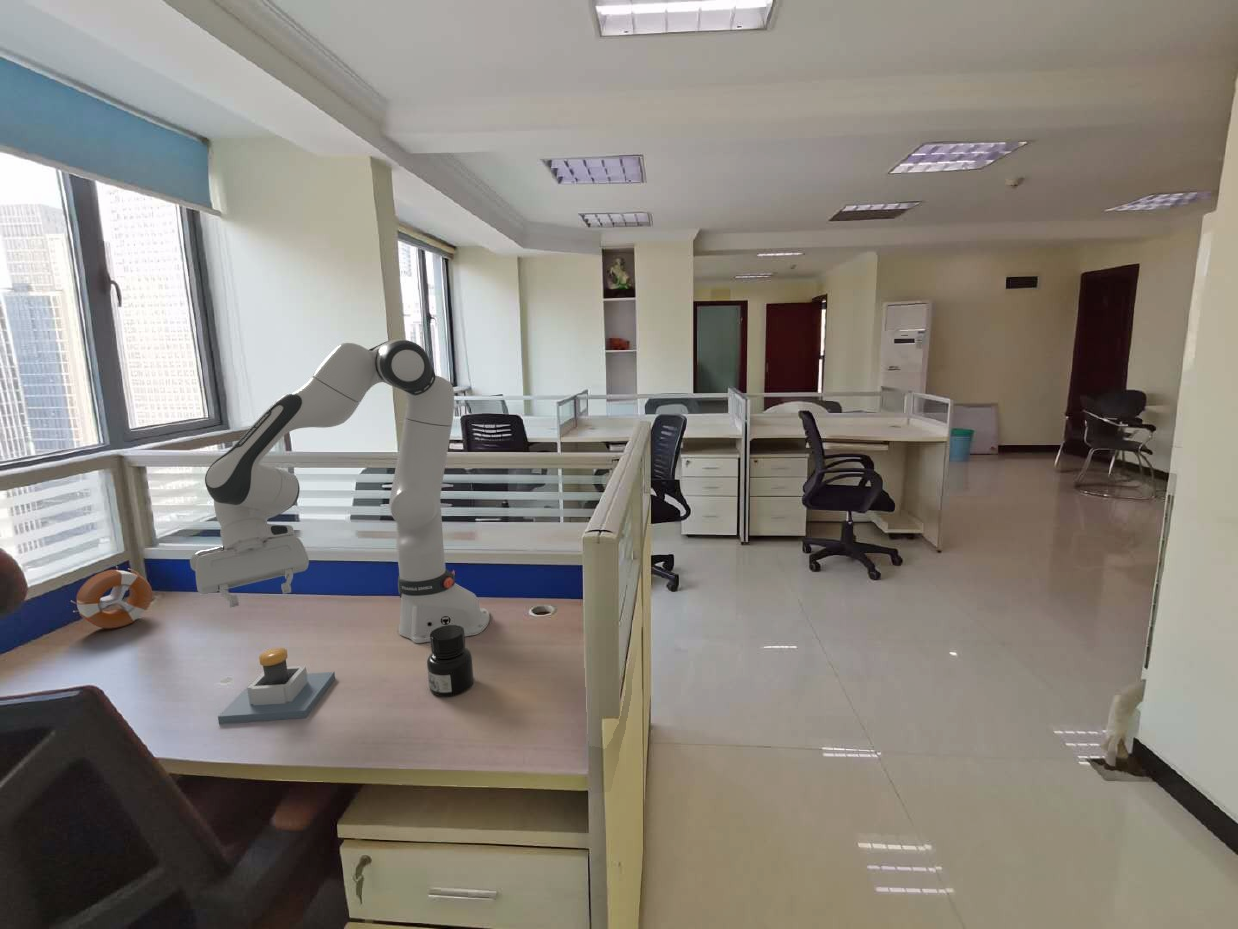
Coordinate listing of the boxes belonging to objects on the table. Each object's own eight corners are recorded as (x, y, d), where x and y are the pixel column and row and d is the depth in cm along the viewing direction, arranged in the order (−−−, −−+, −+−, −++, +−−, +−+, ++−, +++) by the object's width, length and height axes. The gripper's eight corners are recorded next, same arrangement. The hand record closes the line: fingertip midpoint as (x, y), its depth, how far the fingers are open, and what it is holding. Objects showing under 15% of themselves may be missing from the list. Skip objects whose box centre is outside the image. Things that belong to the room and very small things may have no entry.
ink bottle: (422, 683, 123) (417, 630, 121) (462, 669, 128) (458, 618, 126) (439, 704, 115) (434, 648, 113) (481, 688, 120) (477, 634, 118)
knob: (296, 685, 121) (291, 647, 119) (285, 698, 116) (279, 659, 114) (272, 687, 120) (266, 649, 119) (260, 700, 116) (254, 661, 114)
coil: (157, 616, 160) (148, 565, 157) (87, 639, 148) (75, 584, 145) (147, 611, 164) (137, 561, 161) (77, 633, 151) (65, 579, 149)
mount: (335, 678, 126) (332, 656, 125) (305, 717, 112) (302, 694, 111) (258, 683, 125) (254, 661, 124) (218, 723, 111) (214, 699, 110)
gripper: (186, 545, 117) (198, 607, 112) (300, 524, 129) (316, 578, 124) (189, 560, 121) (201, 620, 116) (298, 538, 134) (314, 591, 128)
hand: (261, 598), depth 120 cm, fingers open, 8 cm apart
